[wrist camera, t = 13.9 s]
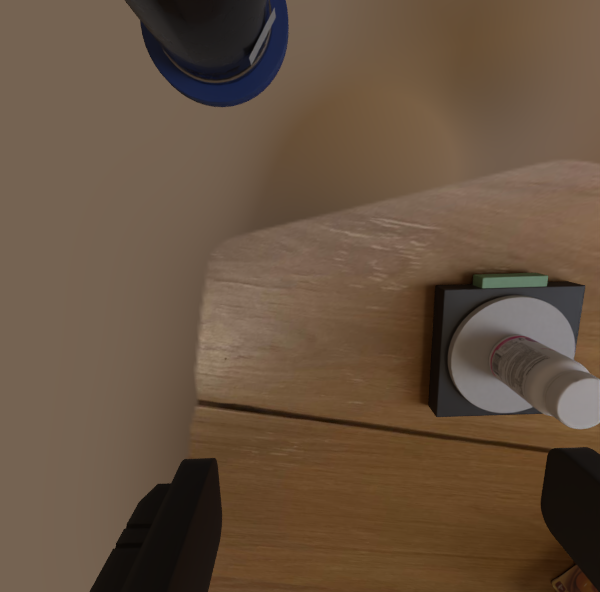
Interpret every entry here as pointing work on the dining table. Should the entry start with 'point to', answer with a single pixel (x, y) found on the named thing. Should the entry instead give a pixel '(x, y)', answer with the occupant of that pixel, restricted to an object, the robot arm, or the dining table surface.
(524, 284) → the scale
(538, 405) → the pill bottle
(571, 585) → the candy box
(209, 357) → the dining table surface
